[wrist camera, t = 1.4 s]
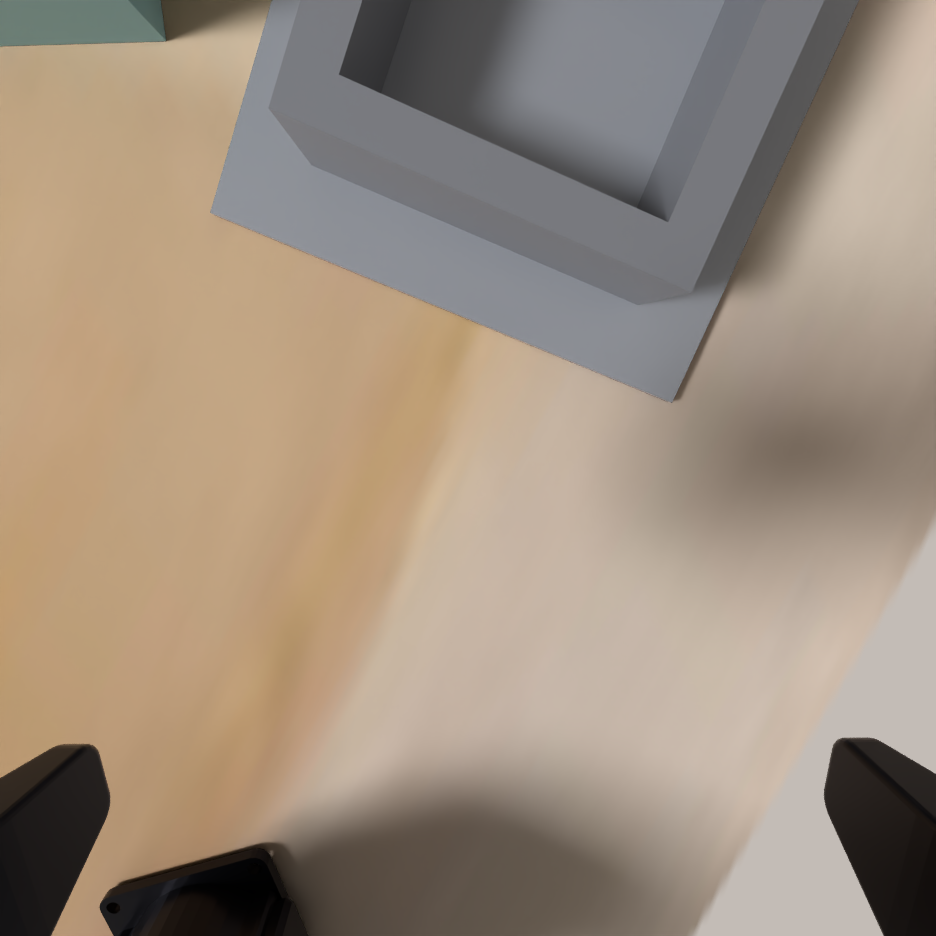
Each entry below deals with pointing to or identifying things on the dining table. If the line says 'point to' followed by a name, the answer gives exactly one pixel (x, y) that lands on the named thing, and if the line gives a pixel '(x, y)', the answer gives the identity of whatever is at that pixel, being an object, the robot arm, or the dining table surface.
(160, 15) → the teal block
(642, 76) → the well
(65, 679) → the dining table surface
